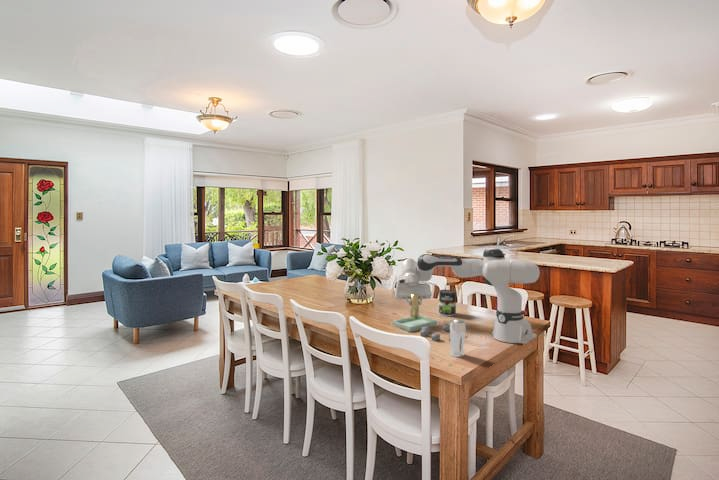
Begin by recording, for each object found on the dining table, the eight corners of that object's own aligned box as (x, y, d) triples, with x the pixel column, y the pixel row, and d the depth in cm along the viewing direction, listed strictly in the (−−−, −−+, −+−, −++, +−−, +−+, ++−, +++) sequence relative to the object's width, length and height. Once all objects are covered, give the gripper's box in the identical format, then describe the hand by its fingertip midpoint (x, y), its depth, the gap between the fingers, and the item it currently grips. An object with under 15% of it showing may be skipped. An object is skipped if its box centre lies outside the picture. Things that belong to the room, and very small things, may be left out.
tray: (419, 319, 221) (419, 315, 221) (436, 325, 209) (436, 320, 209) (392, 325, 210) (392, 320, 210) (409, 332, 198) (409, 327, 198)
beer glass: (464, 358, 163) (464, 324, 162) (447, 356, 166) (448, 322, 164) (466, 352, 170) (466, 319, 168) (450, 350, 172) (450, 318, 171)
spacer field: (440, 326, 207) (440, 322, 207) (471, 337, 189) (471, 332, 189) (414, 333, 196) (414, 328, 196) (444, 345, 179) (445, 340, 179)
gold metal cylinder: (414, 316, 213) (415, 293, 211) (420, 317, 209) (420, 294, 208) (408, 317, 210) (409, 294, 209) (414, 319, 207) (414, 295, 205)
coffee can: (455, 316, 226) (455, 293, 225) (437, 315, 229) (438, 292, 228) (456, 312, 236) (456, 290, 235) (439, 311, 239) (439, 289, 238)
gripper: (428, 286, 220) (432, 307, 211) (393, 287, 219) (396, 308, 210) (430, 280, 215) (434, 301, 206) (394, 281, 214) (397, 302, 205)
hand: (414, 304), depth 208 cm, fingers closed on gold metal cylinder, 4 cm apart
